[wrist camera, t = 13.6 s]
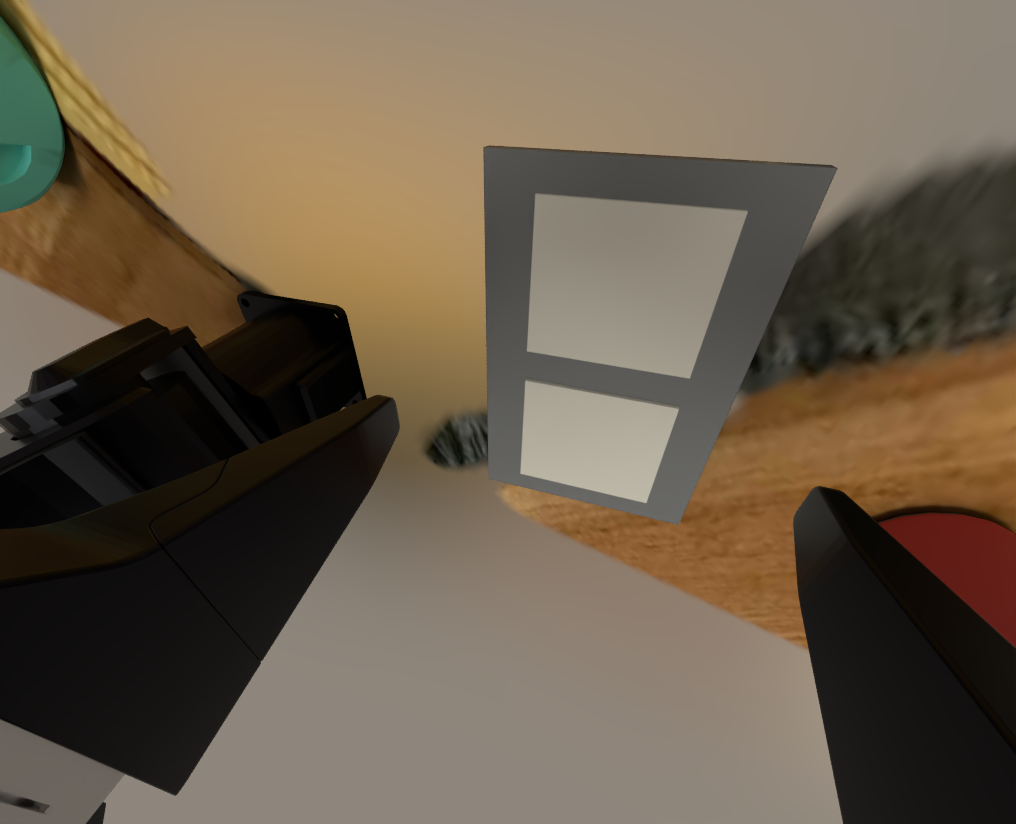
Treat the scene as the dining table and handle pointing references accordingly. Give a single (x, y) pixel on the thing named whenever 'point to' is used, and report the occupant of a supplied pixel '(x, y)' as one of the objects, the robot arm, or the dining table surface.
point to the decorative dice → (26, 127)
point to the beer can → (966, 561)
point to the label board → (628, 312)
